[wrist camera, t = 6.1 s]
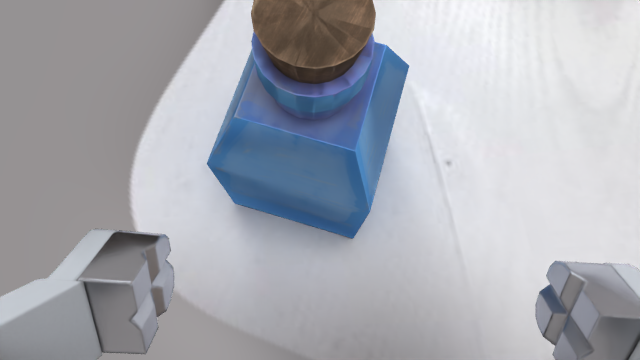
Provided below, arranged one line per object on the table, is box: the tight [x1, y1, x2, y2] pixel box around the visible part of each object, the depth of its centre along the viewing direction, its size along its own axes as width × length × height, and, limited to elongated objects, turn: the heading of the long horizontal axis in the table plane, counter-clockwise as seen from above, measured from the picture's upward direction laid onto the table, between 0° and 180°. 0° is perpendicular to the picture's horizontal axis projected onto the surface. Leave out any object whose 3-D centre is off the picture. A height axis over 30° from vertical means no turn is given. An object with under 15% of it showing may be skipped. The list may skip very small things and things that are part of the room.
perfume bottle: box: [207, 0, 409, 238], centre depth 17 cm, size 6×6×12 cm
